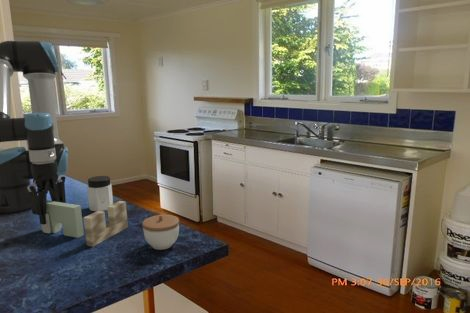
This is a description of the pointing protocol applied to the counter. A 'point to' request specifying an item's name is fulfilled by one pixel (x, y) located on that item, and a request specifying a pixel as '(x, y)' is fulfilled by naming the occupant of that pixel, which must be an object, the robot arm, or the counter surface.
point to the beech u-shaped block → (97, 225)
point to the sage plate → (65, 218)
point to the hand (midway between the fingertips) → (52, 229)
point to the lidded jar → (161, 231)
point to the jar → (99, 193)
